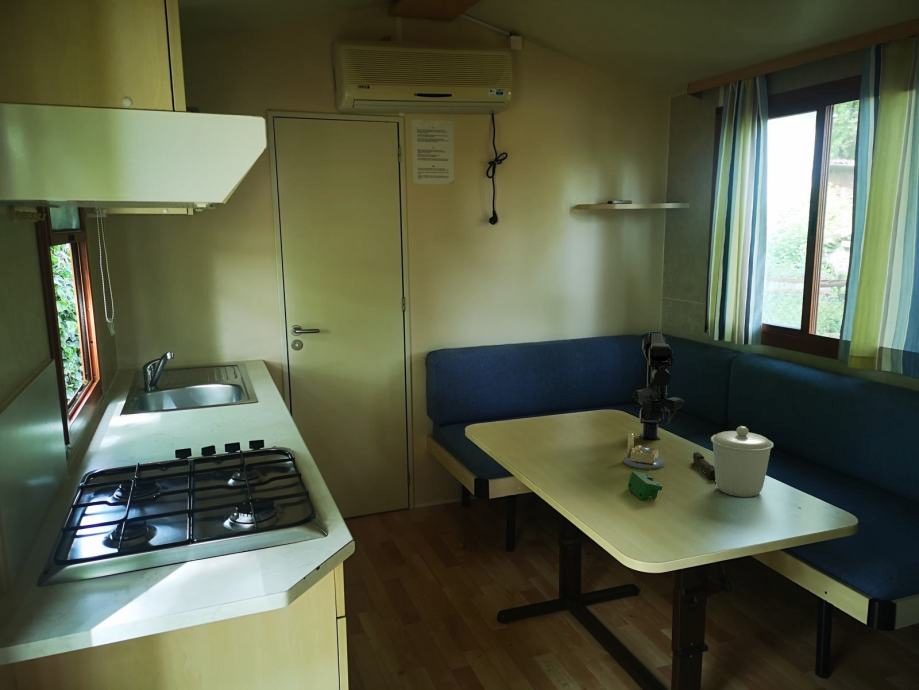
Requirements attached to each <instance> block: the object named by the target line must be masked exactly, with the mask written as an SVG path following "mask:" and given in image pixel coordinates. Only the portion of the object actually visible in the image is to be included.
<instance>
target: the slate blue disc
mask: <svg viewBox="0 0 919 690" xmlns="http://www.w3.org/2000/svg"><path fill="white" fill-rule="evenodd" d="M647 450H650V447H648V446H642V447H640V448H639V452H641V453H647ZM623 464H624V465H626V466H627V467H631V468H633V469H637V468H638V469H637V470H644V469H654V470H660V469H663V468H664V467H665V466H666V465H665V464H666V461H665V460H664V459H663V458H661V457H659V456H658V458H657V460H656V461H655V463H654V464H650V463H643V462H636V461H630V458H628V457H627V455H626V456H625V457H624V458H623Z"/></svg>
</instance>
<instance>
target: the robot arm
mask: <svg viewBox="0 0 919 690" xmlns="http://www.w3.org/2000/svg"><path fill="white" fill-rule="evenodd" d="M641 344H642V346H641V347H642V350H641V351H643V355H644V357H645V359H646V361H647V369H646V370H647V372H646V373H647V375H646V387H644V388H643V389H637V390H635V391H634V393H633V399H634V400H636V402H638V403H639V404H640V405H641V406H640V407H641V408H640V411H639V424H642V433H640V434H639V436H640V437H641V438H642V439H643V440H649V441H651V440H650V439H660V440H661V438H660V437H659V435H658V433H659V430H658V429H659V425H662V424H664V421H665V425H666V426H669V424H670V422H671V421H672V419H673V417H674V415H675V414H676V412H677V411H678V409H681V408H683V407H685V406H684V405H685V404H684V403H685V401H684V399H682V398H681V397H675V396H673V397H669V396H670V394H669V393H668V392H667V390H668V389H667V388H668V386H670V382H671V379H672V378H671V374H670V372H669V369H668V367H673V365H674V363H675V362H674V352H673V349H672V348H671V347H670V345H669V344H668V343H666V337H665V336H664V332H662V331H658V330H657V331H653V330H651V331H649V332H648V334H647V335H645V336H644V337H643V339H642V343H641ZM661 403H663V404H664V407H663V408H662V405H661ZM663 409H664V410H663ZM664 411H665V412H664ZM664 417H665V420H664Z"/></svg>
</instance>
